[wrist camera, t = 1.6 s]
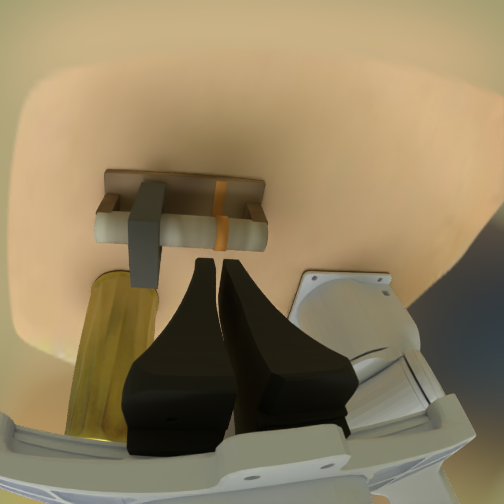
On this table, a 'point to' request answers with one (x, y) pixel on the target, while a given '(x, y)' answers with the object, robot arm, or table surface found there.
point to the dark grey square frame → (146, 235)
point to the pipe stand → (188, 210)
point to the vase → (109, 355)
